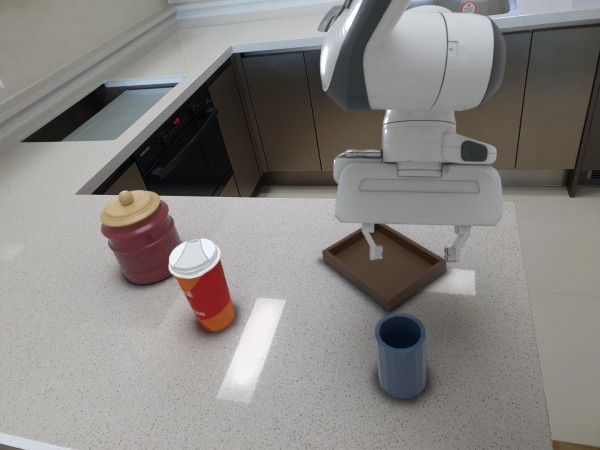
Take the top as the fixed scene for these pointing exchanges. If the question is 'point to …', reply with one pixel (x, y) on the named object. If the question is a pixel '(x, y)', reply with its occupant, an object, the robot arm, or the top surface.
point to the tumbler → (401, 355)
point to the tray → (385, 265)
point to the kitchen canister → (140, 235)
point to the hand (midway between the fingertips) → (413, 260)
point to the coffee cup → (203, 282)
